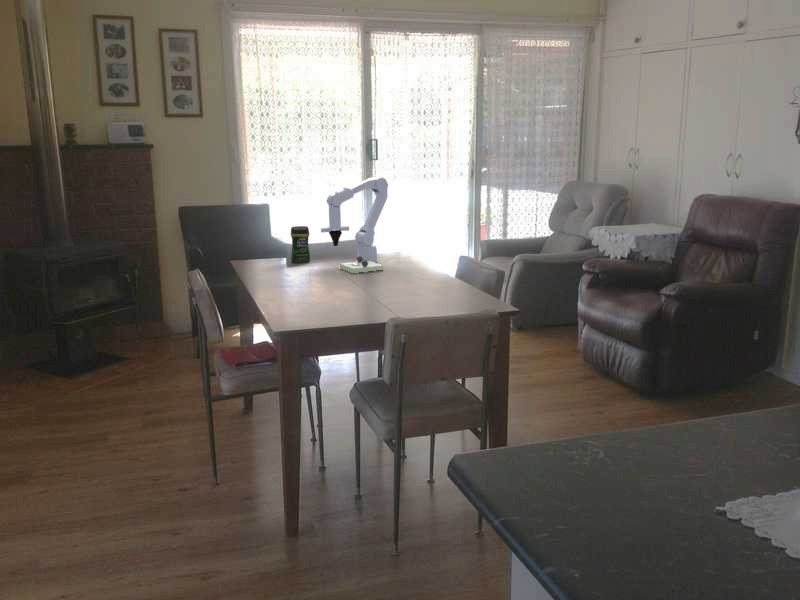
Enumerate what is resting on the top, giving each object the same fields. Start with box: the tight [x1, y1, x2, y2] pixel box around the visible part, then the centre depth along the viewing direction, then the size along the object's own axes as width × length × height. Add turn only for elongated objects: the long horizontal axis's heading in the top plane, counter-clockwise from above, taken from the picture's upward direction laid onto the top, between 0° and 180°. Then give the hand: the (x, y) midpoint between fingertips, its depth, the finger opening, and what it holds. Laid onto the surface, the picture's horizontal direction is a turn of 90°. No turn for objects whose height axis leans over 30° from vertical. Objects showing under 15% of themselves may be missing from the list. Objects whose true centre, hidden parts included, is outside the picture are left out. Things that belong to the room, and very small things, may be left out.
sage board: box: [339, 261, 384, 274], centre depth 354 cm, size 16×15×2 cm
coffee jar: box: [290, 225, 311, 264], centre depth 374 cm, size 10×8×19 cm
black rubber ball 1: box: [356, 255, 363, 262], centre depth 359 cm, size 3×3×3 cm
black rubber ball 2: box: [362, 260, 368, 267], centre depth 348 cm, size 3×3×3 cm
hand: (335, 245), depth 364 cm, fingers closed
